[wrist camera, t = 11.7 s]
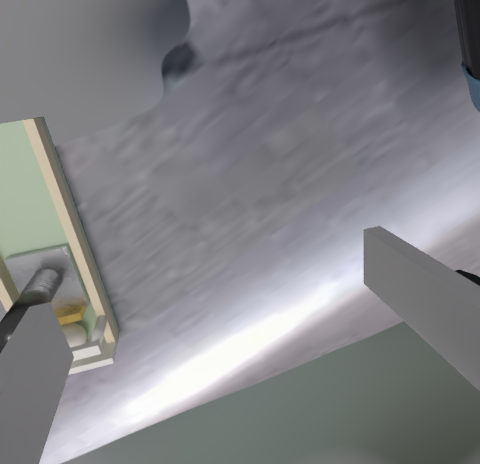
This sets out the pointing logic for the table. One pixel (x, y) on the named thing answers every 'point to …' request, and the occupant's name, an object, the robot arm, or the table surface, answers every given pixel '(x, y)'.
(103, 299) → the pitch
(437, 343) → the robot arm
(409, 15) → the table surface
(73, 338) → the ball
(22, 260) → the rod
